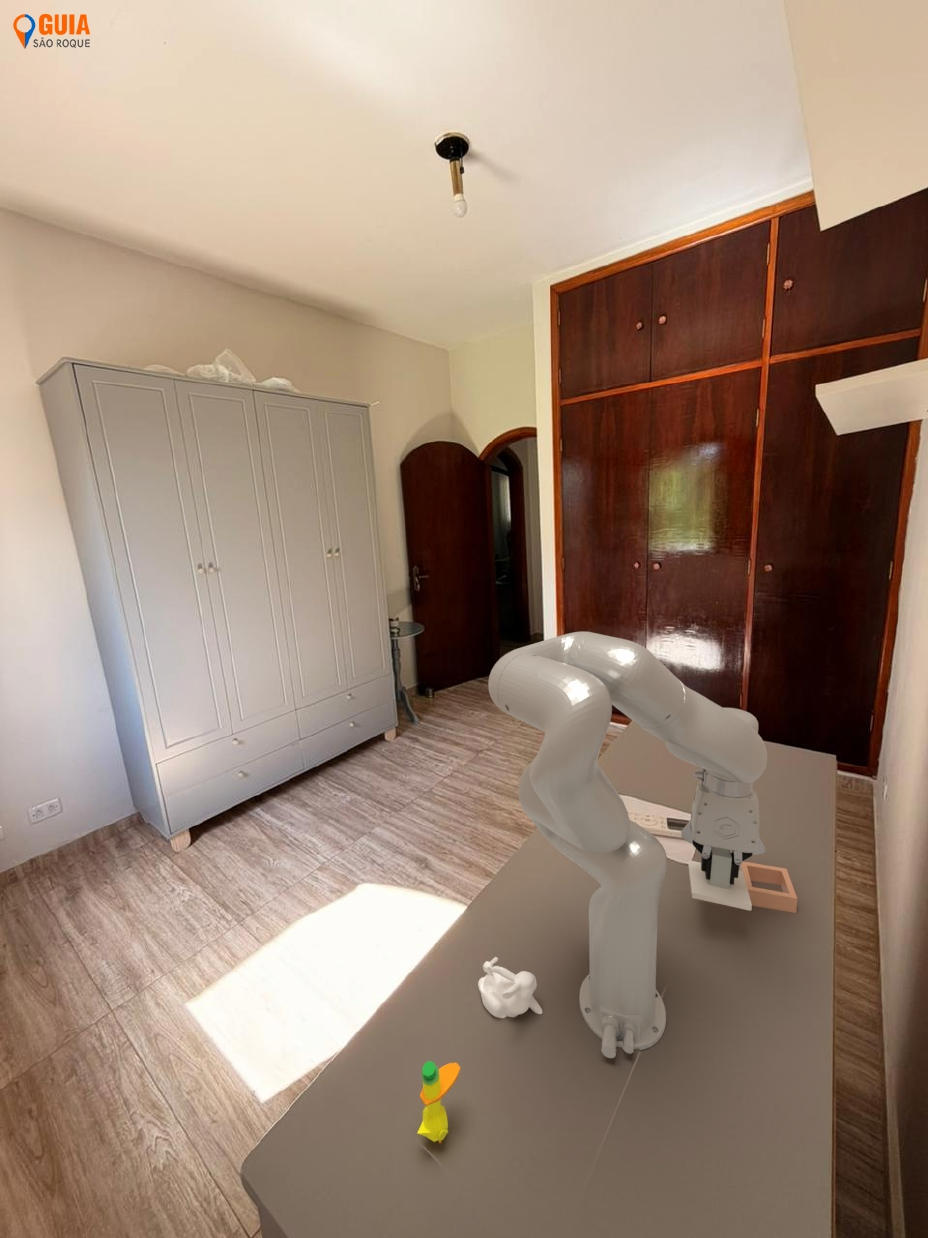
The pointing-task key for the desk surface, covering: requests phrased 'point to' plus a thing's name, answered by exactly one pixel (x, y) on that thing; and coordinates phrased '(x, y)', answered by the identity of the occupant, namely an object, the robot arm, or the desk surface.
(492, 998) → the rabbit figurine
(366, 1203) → the desk surface
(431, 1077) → the toy figure
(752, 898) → the square frame
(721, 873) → the lid
